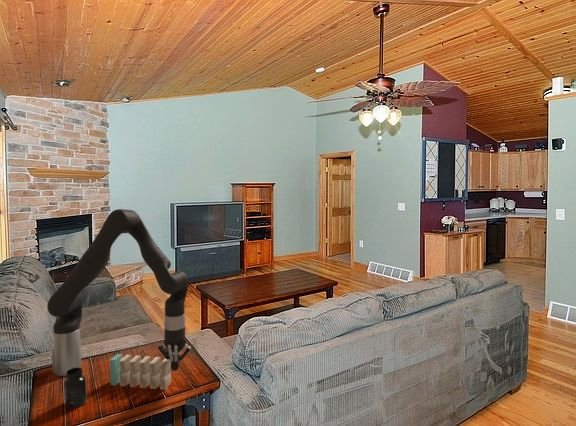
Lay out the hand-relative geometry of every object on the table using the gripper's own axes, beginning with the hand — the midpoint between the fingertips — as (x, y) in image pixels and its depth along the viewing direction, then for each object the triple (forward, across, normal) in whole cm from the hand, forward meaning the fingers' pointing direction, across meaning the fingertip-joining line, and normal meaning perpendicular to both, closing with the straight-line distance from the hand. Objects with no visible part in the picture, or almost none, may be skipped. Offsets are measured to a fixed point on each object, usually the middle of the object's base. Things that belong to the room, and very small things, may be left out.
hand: (175, 369), depth 141 cm
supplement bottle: (+7, +30, +15) cm, 34 cm away
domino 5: (+7, +8, 0) cm, 10 cm away
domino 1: (+7, +24, 0) cm, 25 cm away
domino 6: (+7, +4, 0) cm, 8 cm away
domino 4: (+7, +12, 0) cm, 14 cm away
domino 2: (+7, +20, 0) cm, 21 cm away
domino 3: (+7, +16, 0) cm, 17 cm away
